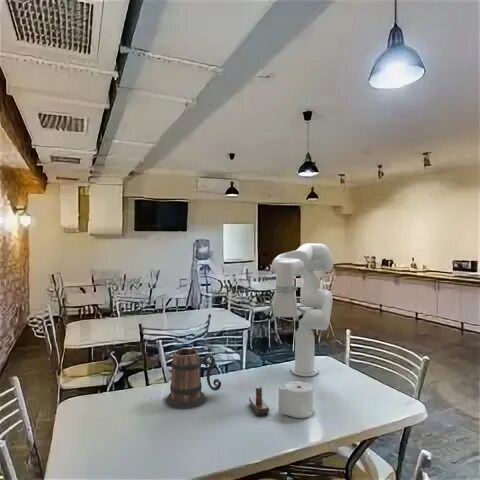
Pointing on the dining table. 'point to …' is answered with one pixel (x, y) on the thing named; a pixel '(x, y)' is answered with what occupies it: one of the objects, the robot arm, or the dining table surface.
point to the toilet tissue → (296, 399)
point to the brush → (259, 403)
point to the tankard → (188, 379)
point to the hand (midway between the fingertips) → (284, 330)
